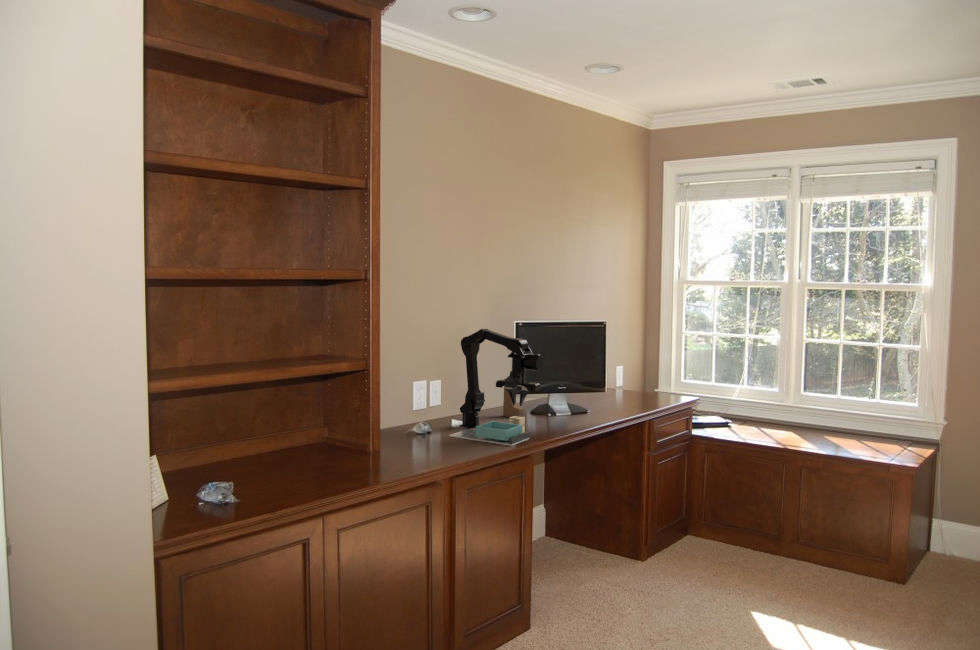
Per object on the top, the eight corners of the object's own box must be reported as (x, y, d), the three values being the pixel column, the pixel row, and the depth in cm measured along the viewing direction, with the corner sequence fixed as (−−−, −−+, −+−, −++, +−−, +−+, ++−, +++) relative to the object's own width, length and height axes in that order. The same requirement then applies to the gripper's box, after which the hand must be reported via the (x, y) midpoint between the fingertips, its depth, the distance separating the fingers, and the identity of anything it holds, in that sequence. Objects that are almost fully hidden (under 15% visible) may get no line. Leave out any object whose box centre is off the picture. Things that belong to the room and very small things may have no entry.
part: (508, 434, 320) (509, 417, 320) (514, 432, 325) (514, 415, 324) (519, 435, 318) (519, 419, 318) (524, 433, 322) (525, 417, 322)
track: (448, 436, 312) (449, 429, 312) (468, 430, 326) (468, 423, 326) (511, 445, 298) (511, 438, 298) (529, 438, 312) (529, 431, 312)
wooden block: (523, 417, 360) (525, 379, 359) (518, 418, 356) (520, 380, 355) (507, 415, 365) (509, 377, 364) (502, 416, 361) (503, 378, 360)
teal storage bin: (475, 437, 307) (475, 426, 307) (492, 431, 319) (492, 421, 319) (506, 442, 300) (506, 430, 300) (522, 436, 312) (522, 425, 312)
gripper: (489, 368, 317) (488, 405, 318) (530, 372, 308) (528, 410, 309) (502, 366, 327) (501, 402, 328) (541, 370, 318) (540, 407, 319)
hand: (517, 405), depth 321 cm, fingers open, 3 cm apart
